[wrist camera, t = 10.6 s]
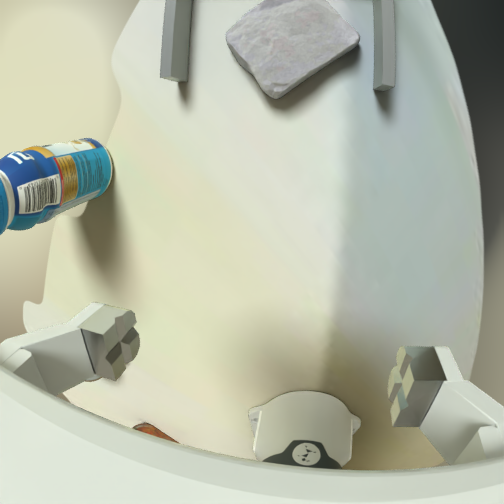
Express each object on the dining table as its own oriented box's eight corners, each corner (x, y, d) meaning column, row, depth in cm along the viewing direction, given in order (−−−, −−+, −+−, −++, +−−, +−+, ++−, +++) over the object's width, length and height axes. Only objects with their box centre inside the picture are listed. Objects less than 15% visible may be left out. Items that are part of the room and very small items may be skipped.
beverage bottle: (92, 211, 40) (-20, 272, 21) (59, 168, 38) (-55, 208, 20) (126, 168, 36) (-1, 214, 18) (89, 123, 35) (-39, 144, 17)
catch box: (384, 91, 28) (394, 86, 24) (177, 82, 31) (159, 77, 27) (381, -27, 22) (389, -44, 18) (186, -29, 26) (171, -44, 21)
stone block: (225, 49, 31) (278, 109, 31) (209, 33, 26) (268, 97, 26) (305, -6, 27) (365, 49, 27) (299, -28, 22) (367, 30, 22)
